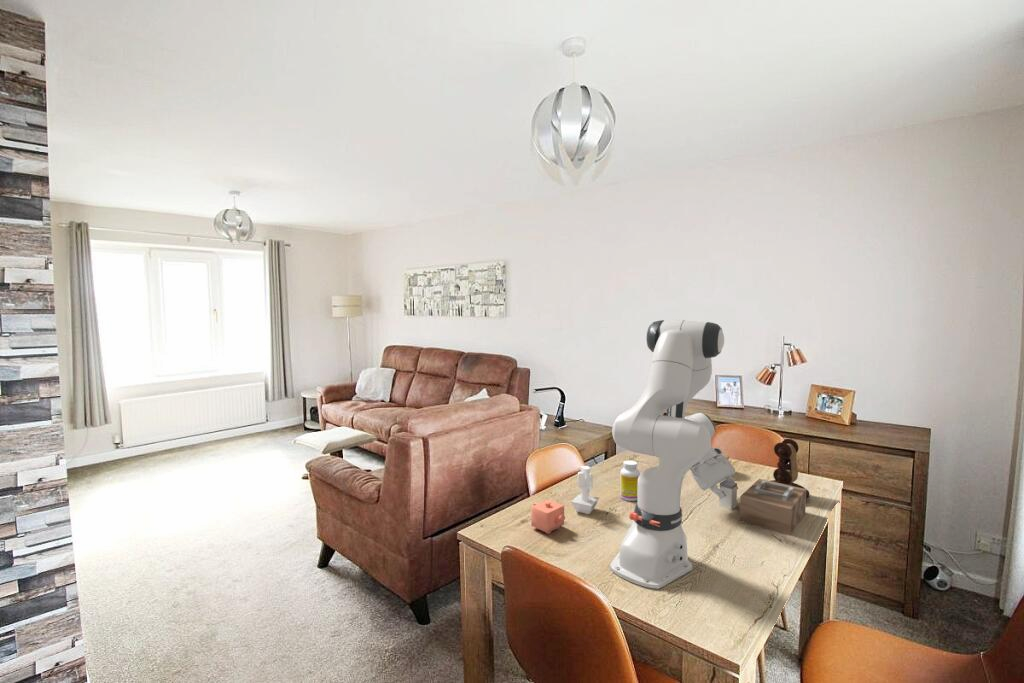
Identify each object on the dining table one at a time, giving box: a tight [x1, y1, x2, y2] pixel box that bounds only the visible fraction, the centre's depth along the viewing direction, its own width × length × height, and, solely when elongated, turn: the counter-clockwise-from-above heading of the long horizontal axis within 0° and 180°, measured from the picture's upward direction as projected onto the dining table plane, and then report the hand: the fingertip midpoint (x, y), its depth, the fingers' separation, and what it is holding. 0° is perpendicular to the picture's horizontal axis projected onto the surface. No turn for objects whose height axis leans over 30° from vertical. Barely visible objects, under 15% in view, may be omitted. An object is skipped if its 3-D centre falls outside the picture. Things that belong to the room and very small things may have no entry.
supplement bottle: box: [619, 460, 641, 502], centre depth 165 cm, size 7×7×13 cm
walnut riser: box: [739, 478, 807, 536], centre depth 149 cm, size 20×14×10 cm
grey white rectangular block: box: [718, 480, 738, 510], centre depth 158 cm, size 4×4×8 cm
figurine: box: [570, 465, 600, 515], centre depth 155 cm, size 7×9×15 cm
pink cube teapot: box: [530, 499, 566, 535], centre depth 143 cm, size 8×12×8 cm, turn 45°
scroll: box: [770, 438, 810, 500], centre depth 165 cm, size 15×15×20 cm
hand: (730, 493), depth 157 cm, fingers open, 8 cm apart
